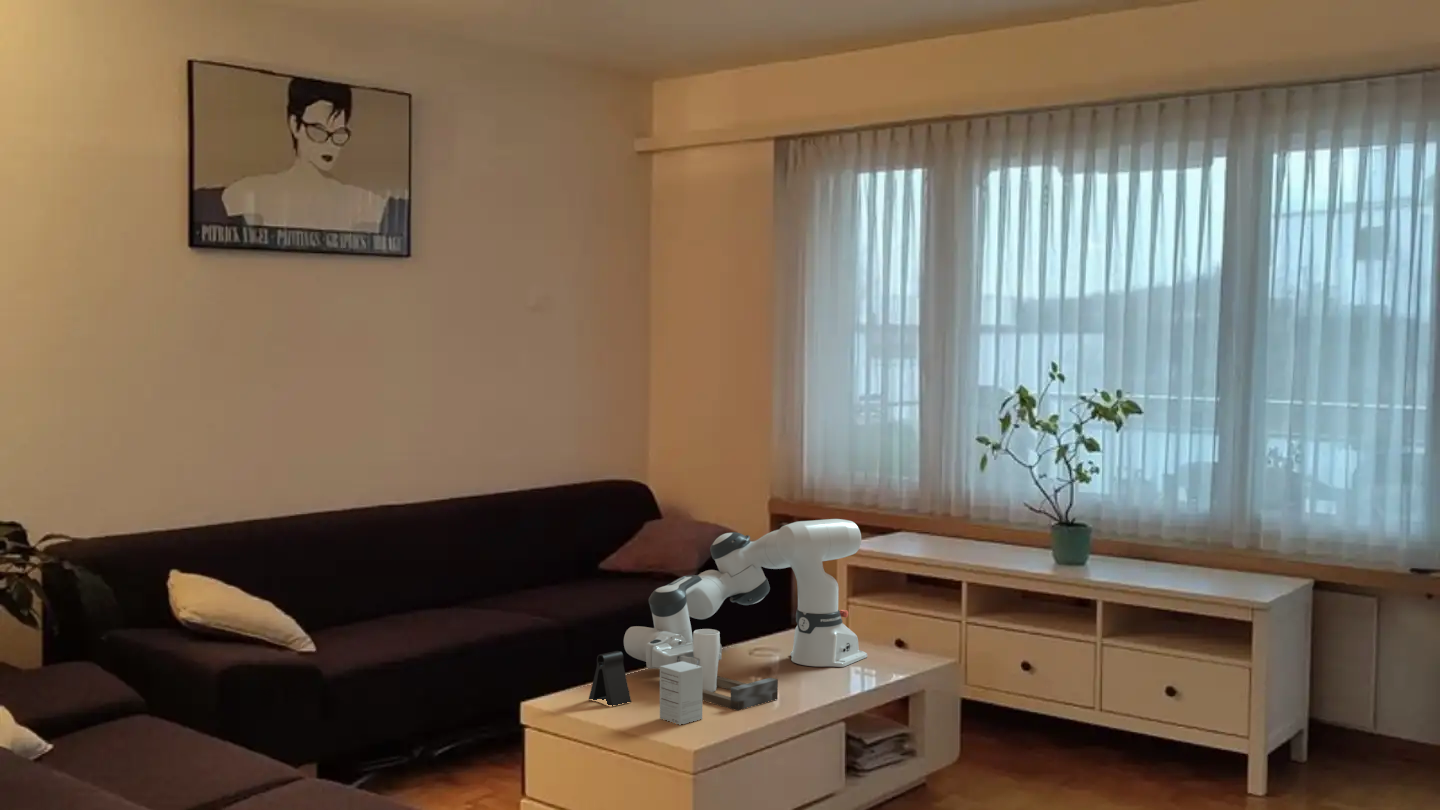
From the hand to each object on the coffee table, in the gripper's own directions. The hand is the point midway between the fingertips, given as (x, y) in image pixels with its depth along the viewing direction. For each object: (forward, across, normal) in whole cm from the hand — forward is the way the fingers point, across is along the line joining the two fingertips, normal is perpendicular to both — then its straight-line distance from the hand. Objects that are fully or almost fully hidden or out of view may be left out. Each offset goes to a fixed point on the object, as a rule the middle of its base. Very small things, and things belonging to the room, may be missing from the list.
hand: (708, 659), depth 340 cm
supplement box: (+13, +22, -8) cm, 27 cm away
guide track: (+6, 0, -8) cm, 10 cm away
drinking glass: (-1, 0, -8) cm, 8 cm away
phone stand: (-10, +24, -8) cm, 27 cm away
